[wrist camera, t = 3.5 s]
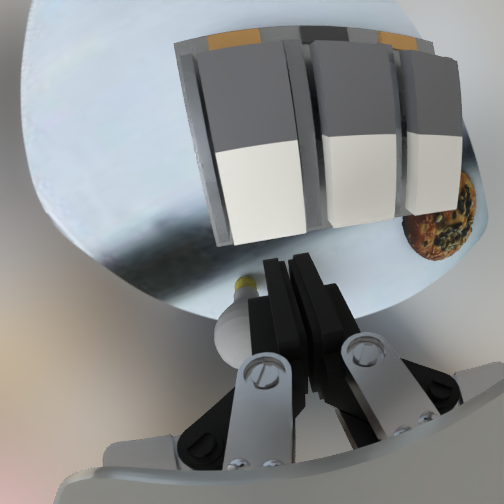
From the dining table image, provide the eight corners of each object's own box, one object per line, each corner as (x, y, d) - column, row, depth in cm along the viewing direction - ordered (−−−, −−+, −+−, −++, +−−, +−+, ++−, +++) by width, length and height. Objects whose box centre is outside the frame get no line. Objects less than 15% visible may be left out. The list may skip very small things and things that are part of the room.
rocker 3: (397, 51, 10) (410, 49, 9) (443, 61, 10) (457, 61, 9) (403, 207, 16) (414, 215, 14) (445, 201, 15) (456, 209, 14)
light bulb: (251, 247, 25) (261, 327, 16) (283, 284, 27) (303, 364, 19) (205, 277, 26) (197, 360, 18) (240, 310, 29) (244, 390, 20)
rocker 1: (199, 58, 11) (196, 53, 10) (277, 47, 11) (282, 41, 9) (234, 233, 16) (234, 245, 15) (300, 222, 16) (306, 233, 15)
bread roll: (387, 192, 23) (423, 210, 19) (452, 144, 22) (486, 155, 18) (408, 270, 28) (434, 293, 24) (463, 221, 27) (490, 238, 23)
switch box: (186, 56, 16) (163, 33, 10) (398, 48, 16) (454, 39, 9) (219, 218, 23) (215, 267, 17) (406, 190, 23) (455, 224, 16)
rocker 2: (308, 45, 11) (315, 40, 9) (374, 48, 11) (386, 45, 9) (326, 218, 16) (334, 228, 15) (383, 209, 16) (394, 218, 14)
